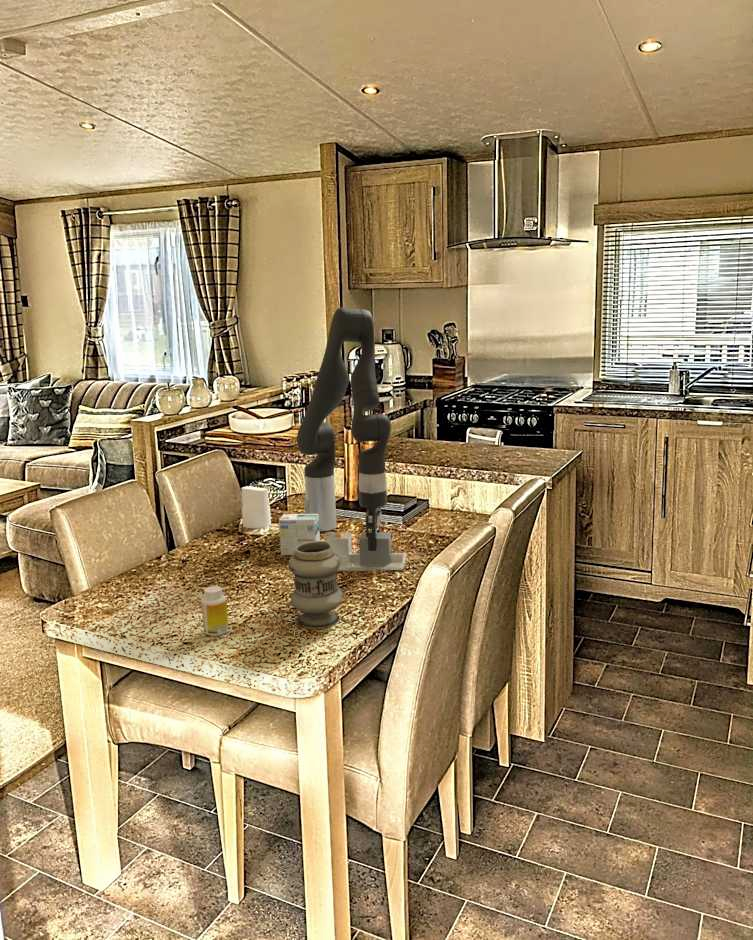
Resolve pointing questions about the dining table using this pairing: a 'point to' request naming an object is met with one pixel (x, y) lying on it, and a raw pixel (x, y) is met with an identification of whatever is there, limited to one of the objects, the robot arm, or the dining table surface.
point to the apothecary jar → (315, 584)
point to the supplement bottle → (214, 611)
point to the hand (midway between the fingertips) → (374, 545)
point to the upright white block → (255, 507)
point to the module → (381, 552)
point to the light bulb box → (297, 531)
